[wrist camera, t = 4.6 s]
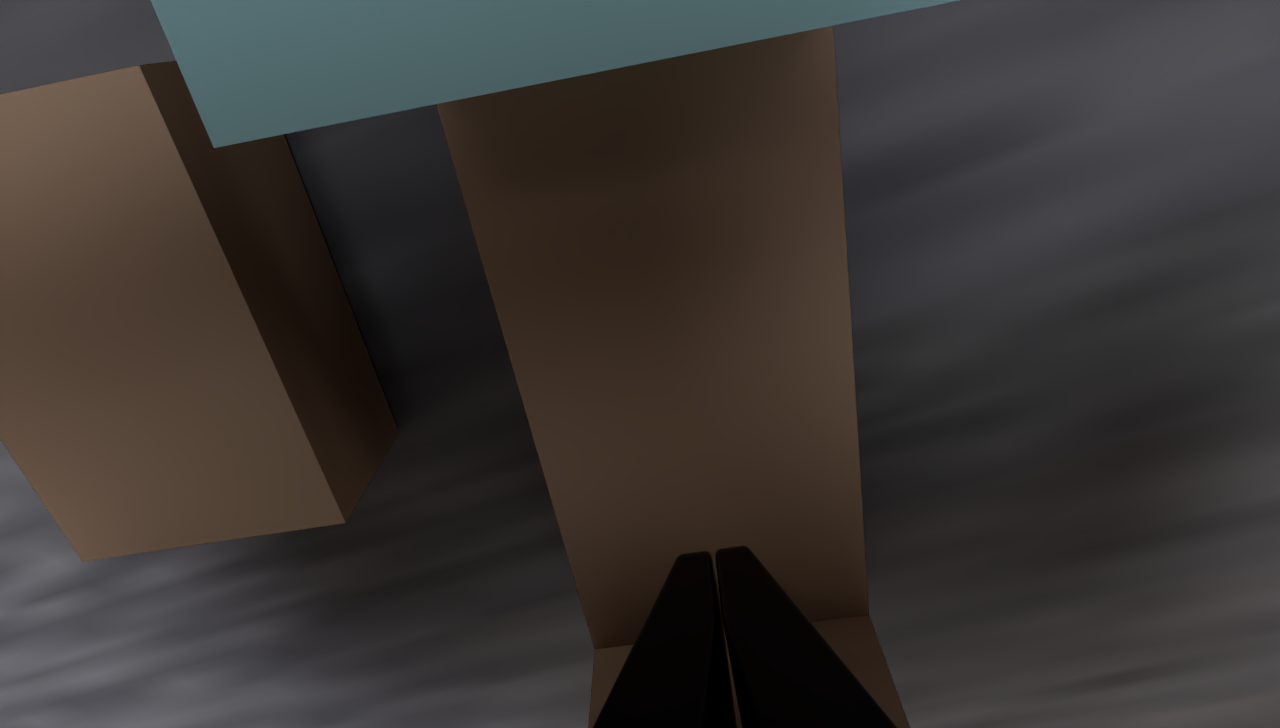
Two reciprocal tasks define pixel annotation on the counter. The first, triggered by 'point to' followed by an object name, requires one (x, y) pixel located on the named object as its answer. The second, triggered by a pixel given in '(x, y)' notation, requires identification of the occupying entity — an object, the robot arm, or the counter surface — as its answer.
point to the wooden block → (682, 326)
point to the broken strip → (172, 325)
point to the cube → (442, 49)
